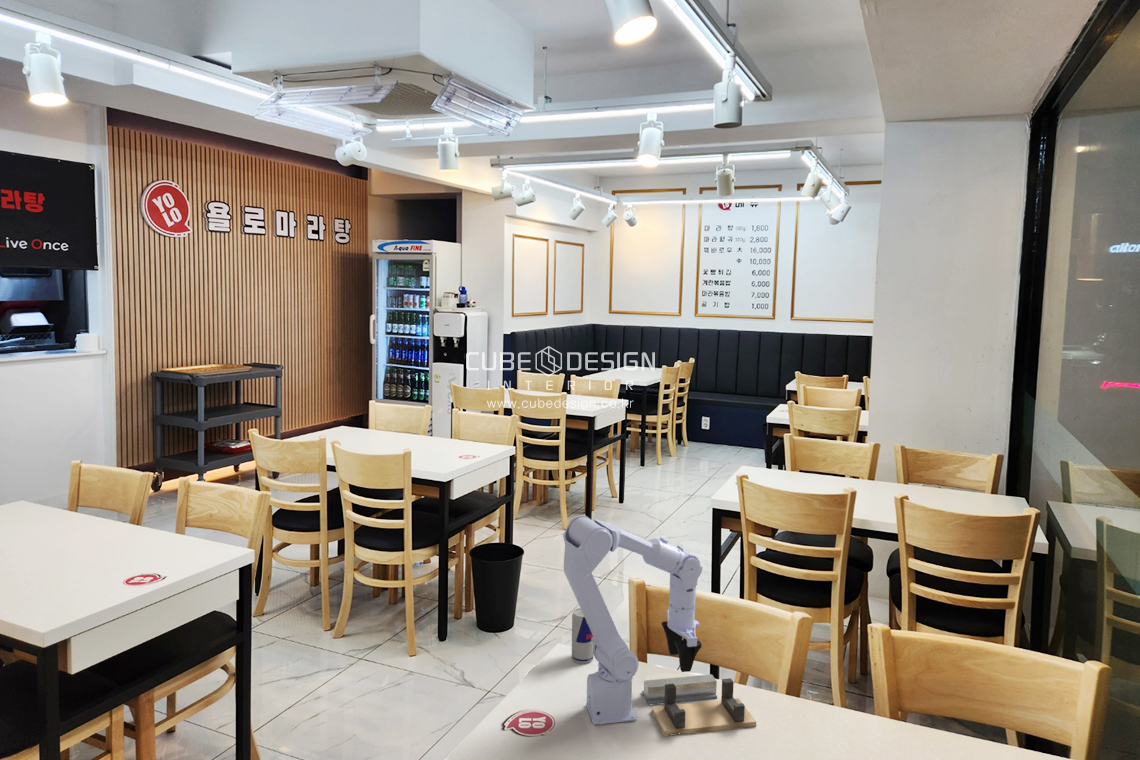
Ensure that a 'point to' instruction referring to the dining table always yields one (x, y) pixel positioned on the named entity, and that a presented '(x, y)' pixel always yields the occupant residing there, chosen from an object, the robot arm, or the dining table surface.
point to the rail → (681, 686)
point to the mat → (683, 698)
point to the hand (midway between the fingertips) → (679, 662)
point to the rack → (702, 713)
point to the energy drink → (581, 638)
